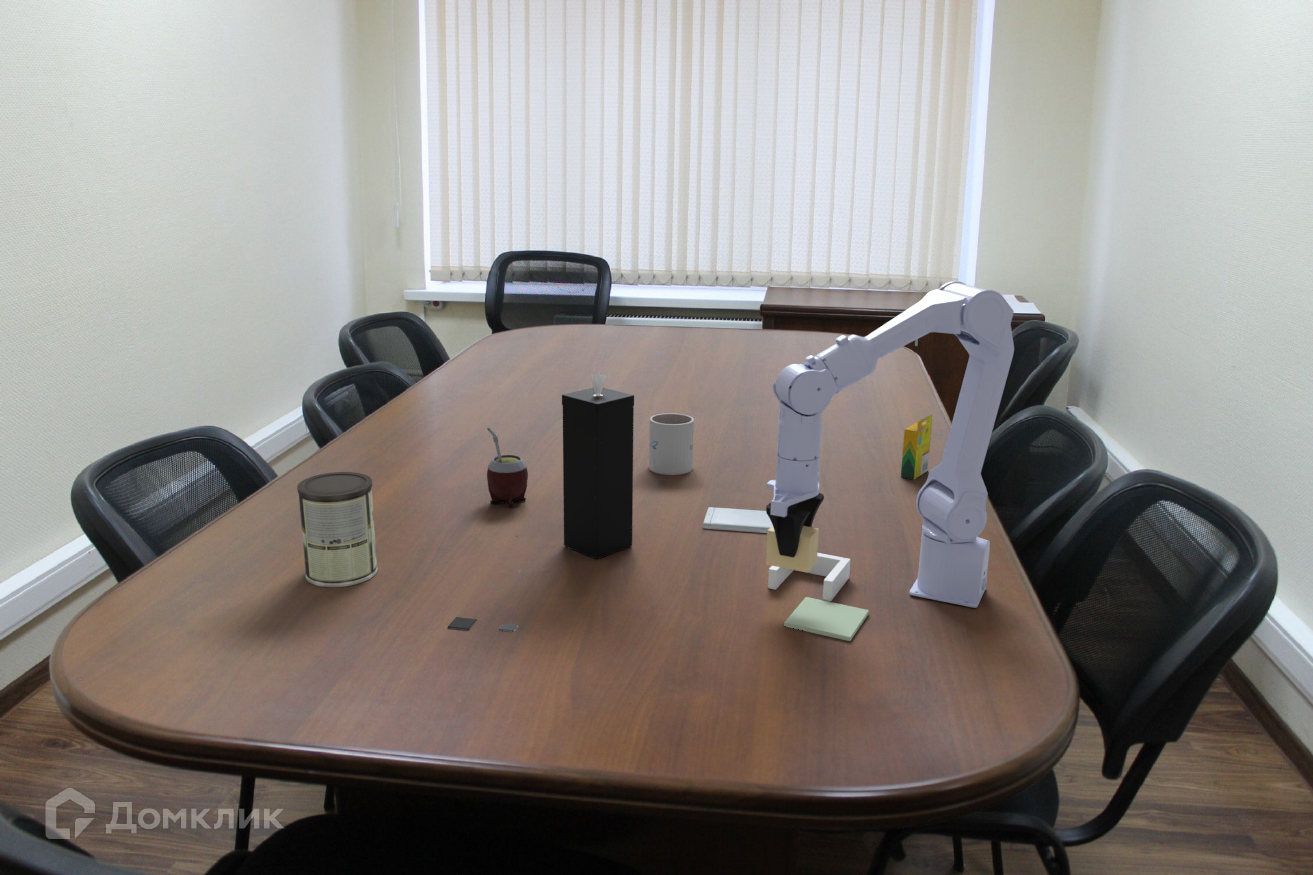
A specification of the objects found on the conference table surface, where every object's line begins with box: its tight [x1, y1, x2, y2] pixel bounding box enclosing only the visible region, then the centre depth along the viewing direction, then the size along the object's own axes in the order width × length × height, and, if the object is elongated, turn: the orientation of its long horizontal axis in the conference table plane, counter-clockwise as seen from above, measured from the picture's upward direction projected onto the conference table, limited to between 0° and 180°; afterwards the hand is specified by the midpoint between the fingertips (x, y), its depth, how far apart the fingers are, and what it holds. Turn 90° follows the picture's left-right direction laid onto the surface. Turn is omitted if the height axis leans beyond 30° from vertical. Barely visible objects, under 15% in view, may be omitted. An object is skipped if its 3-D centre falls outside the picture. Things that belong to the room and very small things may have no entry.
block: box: [765, 526, 820, 574], centre depth 141 cm, size 6×4×5 cm, turn 64°
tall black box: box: [561, 374, 635, 559], centre depth 159 cm, size 8×8×28 cm
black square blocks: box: [447, 616, 519, 633], centre depth 136 cm, size 14×20×1 cm
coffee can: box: [296, 471, 379, 588], centre depth 149 cm, size 10×10×14 cm
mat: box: [783, 596, 870, 642], centre depth 139 cm, size 9×9×1 cm
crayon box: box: [900, 414, 933, 480], centre depth 199 cm, size 7×3×12 cm, turn 144°
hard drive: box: [702, 506, 773, 534], centre depth 174 cm, size 2×8×12 cm
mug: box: [648, 412, 695, 476], centre depth 203 cm, size 12×9×10 cm
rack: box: [767, 552, 852, 602], centre depth 150 cm, size 9×9×3 cm
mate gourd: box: [486, 427, 529, 509], centre depth 179 cm, size 8×8×15 cm
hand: (793, 549), depth 141 cm, fingers closed on block, 4 cm apart
